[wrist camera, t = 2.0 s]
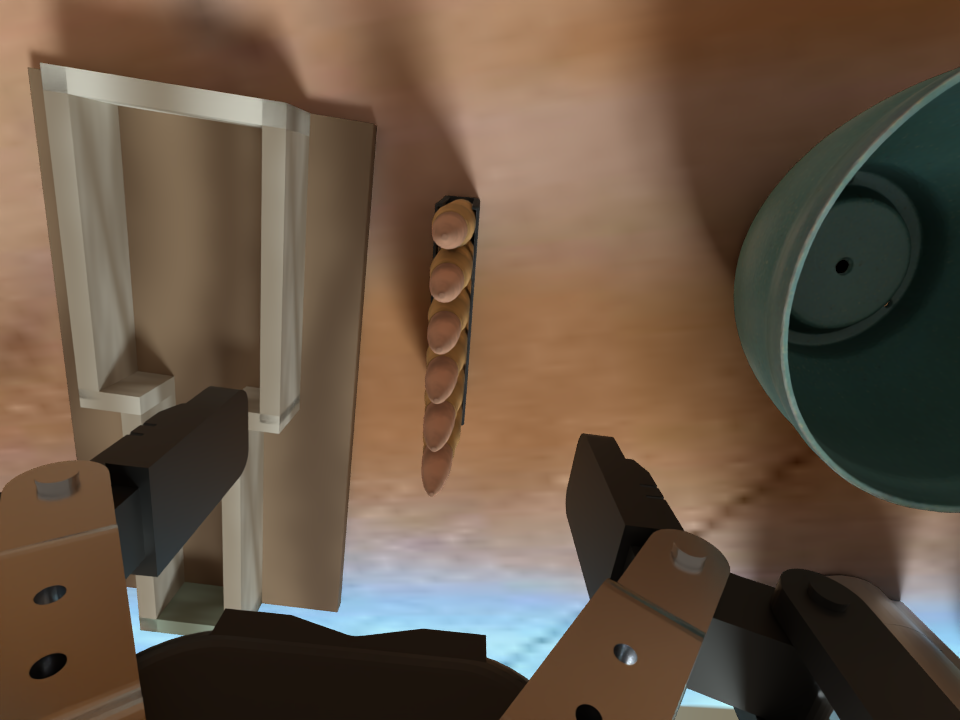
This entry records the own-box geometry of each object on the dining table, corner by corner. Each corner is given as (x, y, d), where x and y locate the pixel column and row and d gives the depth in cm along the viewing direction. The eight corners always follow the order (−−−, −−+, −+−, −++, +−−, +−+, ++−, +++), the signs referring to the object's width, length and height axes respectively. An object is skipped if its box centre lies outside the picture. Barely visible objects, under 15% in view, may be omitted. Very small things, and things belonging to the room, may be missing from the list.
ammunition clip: (444, 195, 26) (413, 200, 14) (480, 198, 26) (478, 205, 14) (434, 388, 29) (404, 516, 18) (466, 390, 29) (456, 519, 18)
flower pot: (633, 375, 29) (718, 478, 18) (728, 59, 24) (918, -42, 13) (898, 421, 30) (1119, 544, 19) (1045, 125, 24) (1454, 78, 14)
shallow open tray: (376, 125, 25) (358, 114, 21) (340, 602, 34) (323, 651, 31) (42, 71, 24) (-37, 50, 20) (101, 573, 33) (55, 620, 30)
